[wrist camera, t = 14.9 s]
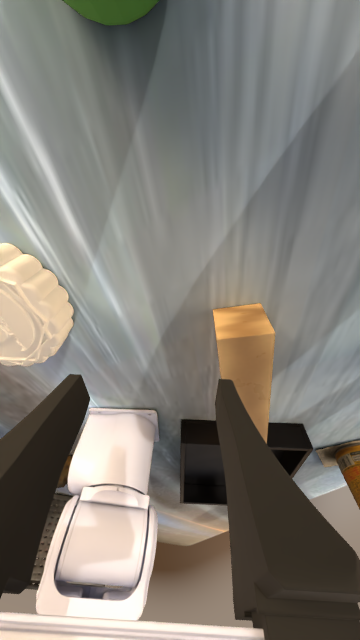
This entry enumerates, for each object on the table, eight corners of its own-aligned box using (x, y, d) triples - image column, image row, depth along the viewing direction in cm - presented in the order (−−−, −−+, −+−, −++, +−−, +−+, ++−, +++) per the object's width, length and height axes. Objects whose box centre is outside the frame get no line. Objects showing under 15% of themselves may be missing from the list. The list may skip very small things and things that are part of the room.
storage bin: (123, 505, 55) (107, 590, 44) (106, 523, 66) (89, 596, 55) (-2, 481, 49) (-57, 573, 38) (1, 506, 60) (-42, 583, 49)
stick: (225, 416, 31) (229, 449, 28) (212, 309, 21) (217, 339, 17) (257, 414, 31) (266, 447, 27) (260, 303, 20) (275, 332, 17)
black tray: (180, 482, 46) (180, 503, 43) (181, 419, 32) (180, 443, 29) (266, 486, 45) (270, 507, 42) (302, 423, 32) (313, 449, 29)
